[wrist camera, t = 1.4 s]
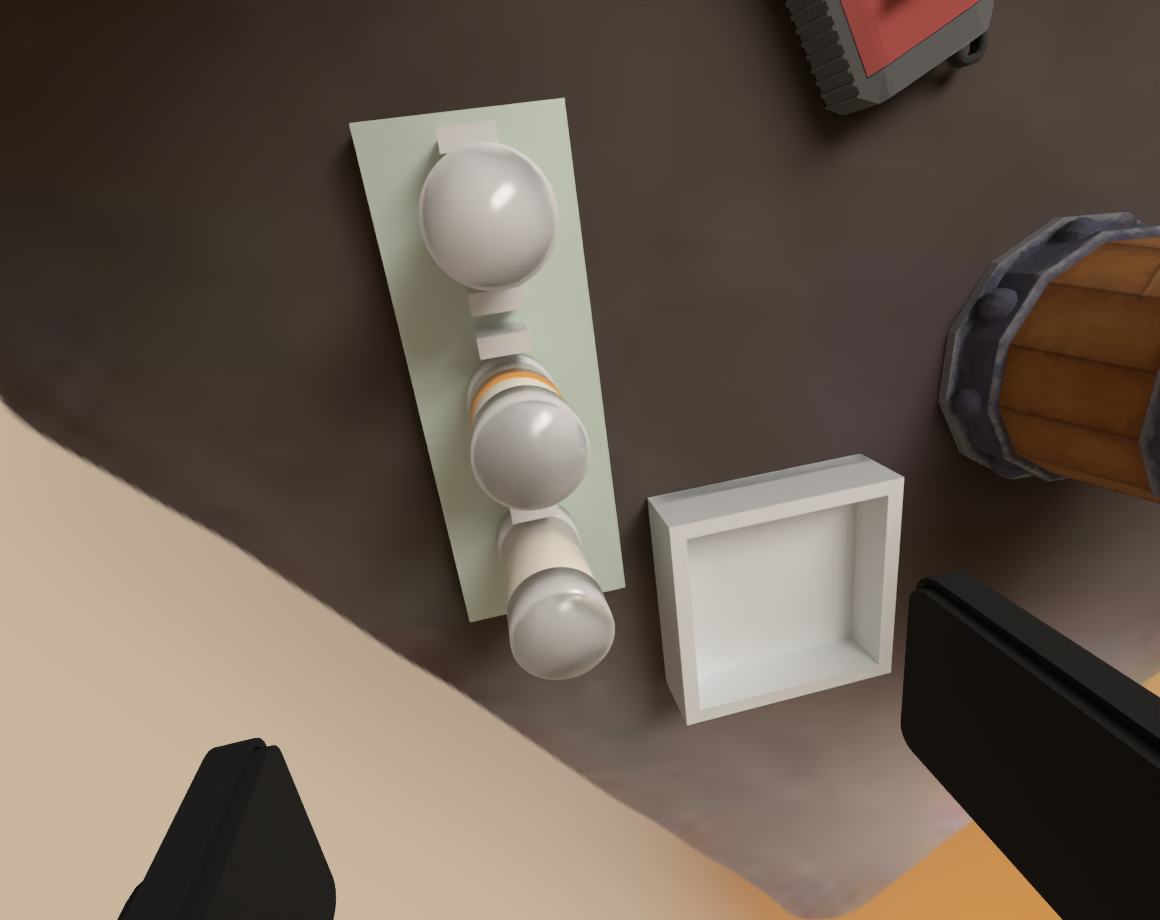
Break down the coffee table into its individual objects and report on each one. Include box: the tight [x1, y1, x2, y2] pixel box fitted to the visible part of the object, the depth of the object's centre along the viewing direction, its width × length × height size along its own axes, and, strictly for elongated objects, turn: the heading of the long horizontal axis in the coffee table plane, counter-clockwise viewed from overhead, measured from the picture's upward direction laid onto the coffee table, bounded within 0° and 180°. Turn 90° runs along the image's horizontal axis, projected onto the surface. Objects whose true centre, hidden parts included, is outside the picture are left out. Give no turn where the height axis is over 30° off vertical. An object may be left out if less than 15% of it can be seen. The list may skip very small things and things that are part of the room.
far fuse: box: [497, 504, 615, 680], centre depth 25 cm, size 4×4×8 cm
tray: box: [647, 454, 904, 725], centre depth 33 cm, size 12×12×4 cm
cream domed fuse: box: [418, 142, 559, 291], centre depth 20 cm, size 4×4×8 cm
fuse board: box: [349, 98, 625, 622], centre depth 26 cm, size 22×8×4 cm, turn 7°
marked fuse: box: [467, 353, 590, 511], centre depth 23 cm, size 4×4×8 cm
